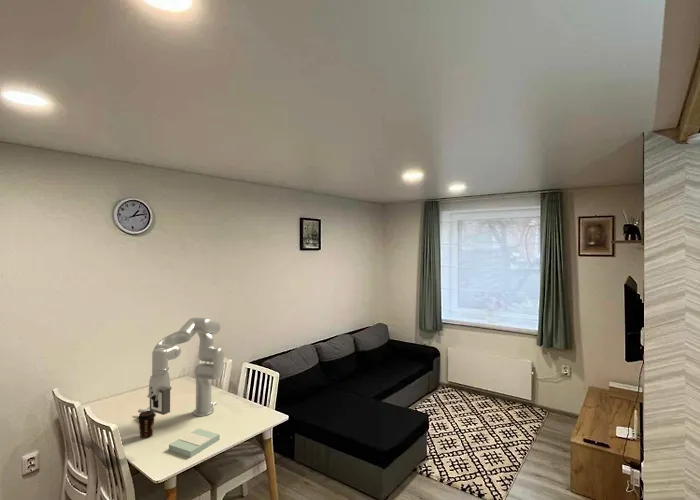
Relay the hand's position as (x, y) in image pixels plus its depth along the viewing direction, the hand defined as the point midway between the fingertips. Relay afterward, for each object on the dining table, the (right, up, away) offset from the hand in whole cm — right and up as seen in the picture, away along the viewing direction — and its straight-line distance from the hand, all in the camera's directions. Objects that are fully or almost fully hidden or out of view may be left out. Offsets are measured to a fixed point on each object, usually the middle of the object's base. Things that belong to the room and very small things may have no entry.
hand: (159, 405), depth 205 cm
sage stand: (+18, -22, +2) cm, 29 cm away
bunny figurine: (-25, -22, +33) cm, 47 cm away
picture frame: (0, -3, 0) cm, 3 cm away
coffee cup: (-13, -22, +11) cm, 28 cm away
